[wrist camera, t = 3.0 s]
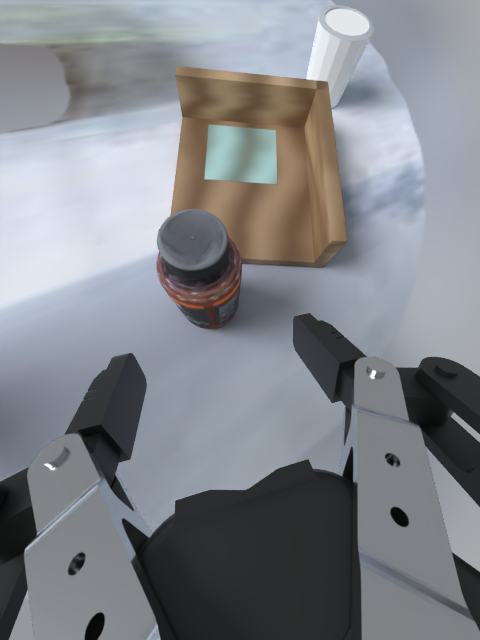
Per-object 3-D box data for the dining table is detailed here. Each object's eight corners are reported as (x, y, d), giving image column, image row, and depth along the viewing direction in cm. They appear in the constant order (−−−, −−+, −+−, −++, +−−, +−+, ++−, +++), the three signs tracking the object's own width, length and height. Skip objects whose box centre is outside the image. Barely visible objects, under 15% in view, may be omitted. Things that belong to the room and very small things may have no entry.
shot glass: (302, 112, 30) (324, 37, 24) (296, 80, 32) (315, 1, 25) (346, 113, 31) (380, 40, 24) (338, 81, 32) (368, 5, 26)
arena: (168, 259, 23) (152, 230, 18) (185, 117, 29) (176, 66, 24) (323, 267, 24) (347, 241, 19) (311, 128, 30) (328, 81, 25)
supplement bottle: (243, 284, 23) (257, 206, 12) (230, 335, 22) (234, 299, 11) (191, 272, 23) (158, 183, 12) (175, 322, 22) (121, 272, 11)
